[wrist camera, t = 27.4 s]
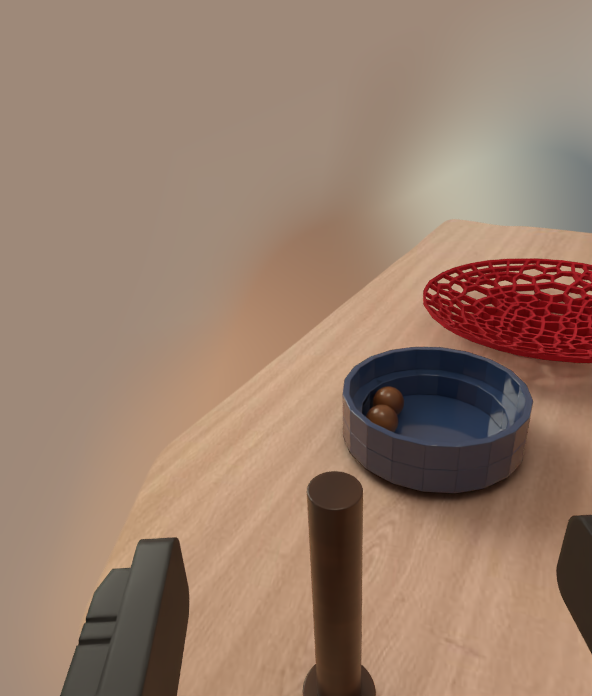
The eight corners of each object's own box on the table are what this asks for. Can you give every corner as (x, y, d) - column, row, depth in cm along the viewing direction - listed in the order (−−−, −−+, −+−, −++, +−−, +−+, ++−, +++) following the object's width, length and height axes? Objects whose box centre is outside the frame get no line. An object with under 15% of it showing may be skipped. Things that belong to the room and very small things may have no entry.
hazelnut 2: (366, 439, 52) (364, 407, 53) (399, 437, 52) (396, 405, 53) (366, 436, 49) (363, 403, 50) (400, 434, 49) (397, 401, 50)
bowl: (387, 366, 64) (388, 327, 62) (454, 280, 87) (456, 249, 84) (689, 430, 51) (706, 384, 49) (676, 309, 74) (686, 273, 71)
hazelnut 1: (362, 405, 53) (386, 393, 51) (371, 388, 56) (394, 375, 54) (381, 428, 54) (406, 417, 52) (390, 410, 56) (413, 398, 54)
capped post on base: (295, 734, 30) (276, 515, 23) (313, 664, 33) (301, 453, 26) (369, 753, 29) (374, 532, 22) (379, 679, 32) (387, 465, 25)
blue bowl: (337, 494, 46) (336, 440, 44) (348, 389, 60) (348, 344, 58) (542, 506, 44) (554, 451, 41) (504, 395, 58) (511, 348, 55)
